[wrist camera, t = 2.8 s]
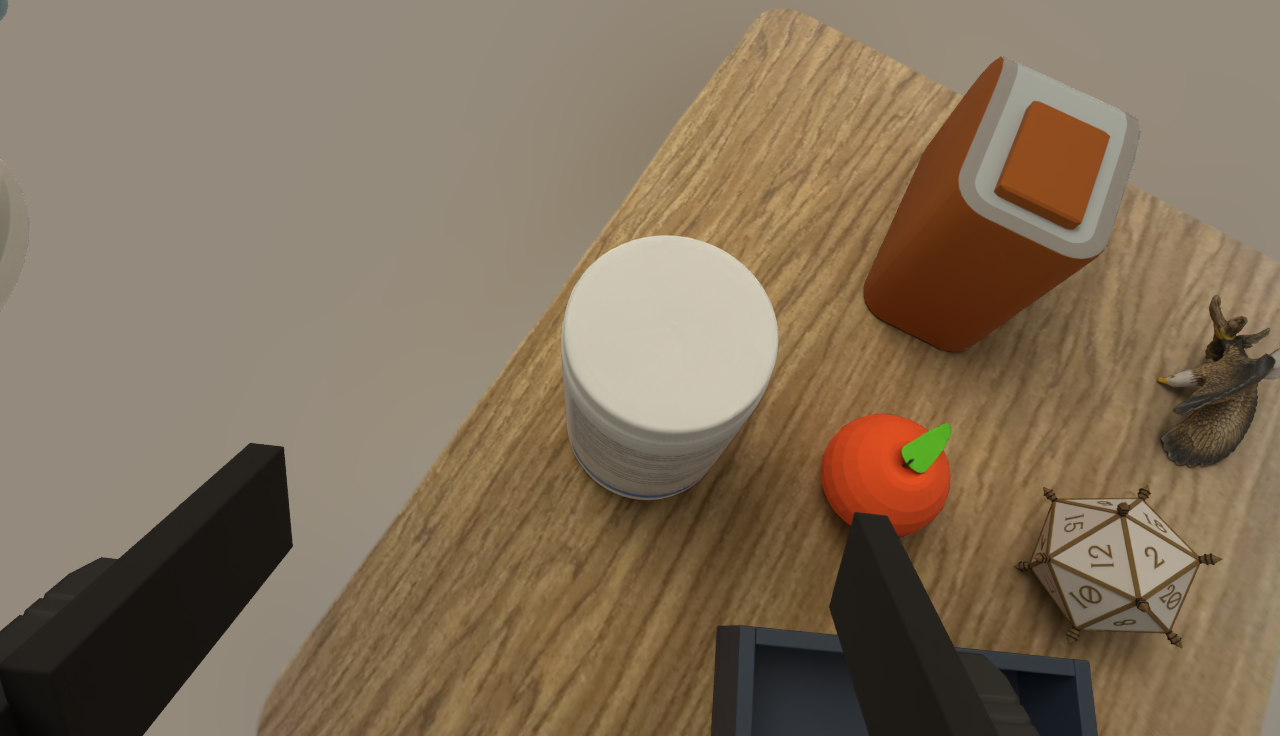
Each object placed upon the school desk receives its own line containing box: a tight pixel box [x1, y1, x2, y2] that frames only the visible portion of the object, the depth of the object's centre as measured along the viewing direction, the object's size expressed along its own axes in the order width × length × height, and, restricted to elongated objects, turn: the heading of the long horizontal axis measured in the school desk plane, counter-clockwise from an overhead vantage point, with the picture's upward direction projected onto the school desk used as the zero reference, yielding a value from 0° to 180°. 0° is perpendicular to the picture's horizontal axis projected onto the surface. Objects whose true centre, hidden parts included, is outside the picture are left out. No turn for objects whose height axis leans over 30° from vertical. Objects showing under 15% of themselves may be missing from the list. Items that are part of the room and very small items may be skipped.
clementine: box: [821, 414, 951, 537], centre depth 40 cm, size 8×7×7 cm
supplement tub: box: [561, 235, 778, 500], centre depth 37 cm, size 10×10×15 cm
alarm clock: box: [864, 57, 1140, 352], centre depth 44 cm, size 15×8×14 cm, turn 152°
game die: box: [1014, 485, 1222, 648], centre depth 39 cm, size 9×8×10 cm
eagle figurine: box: [1157, 295, 1280, 467], centre depth 45 cm, size 8×7×9 cm
